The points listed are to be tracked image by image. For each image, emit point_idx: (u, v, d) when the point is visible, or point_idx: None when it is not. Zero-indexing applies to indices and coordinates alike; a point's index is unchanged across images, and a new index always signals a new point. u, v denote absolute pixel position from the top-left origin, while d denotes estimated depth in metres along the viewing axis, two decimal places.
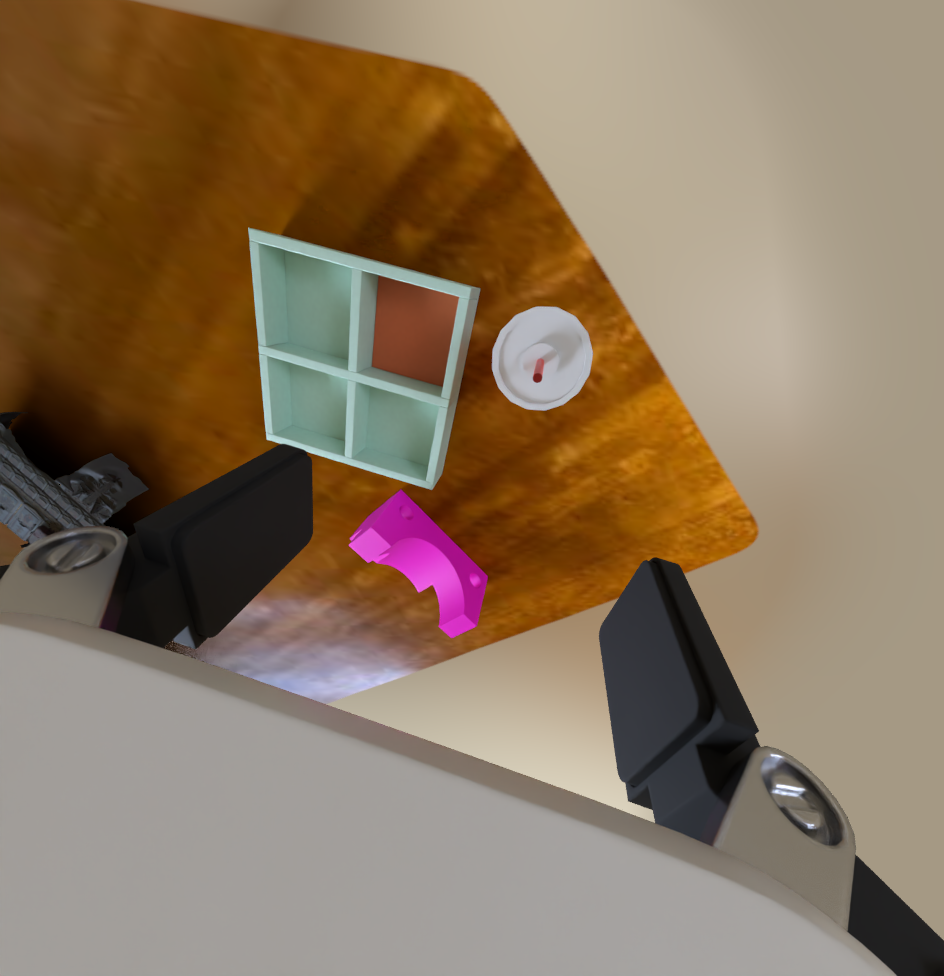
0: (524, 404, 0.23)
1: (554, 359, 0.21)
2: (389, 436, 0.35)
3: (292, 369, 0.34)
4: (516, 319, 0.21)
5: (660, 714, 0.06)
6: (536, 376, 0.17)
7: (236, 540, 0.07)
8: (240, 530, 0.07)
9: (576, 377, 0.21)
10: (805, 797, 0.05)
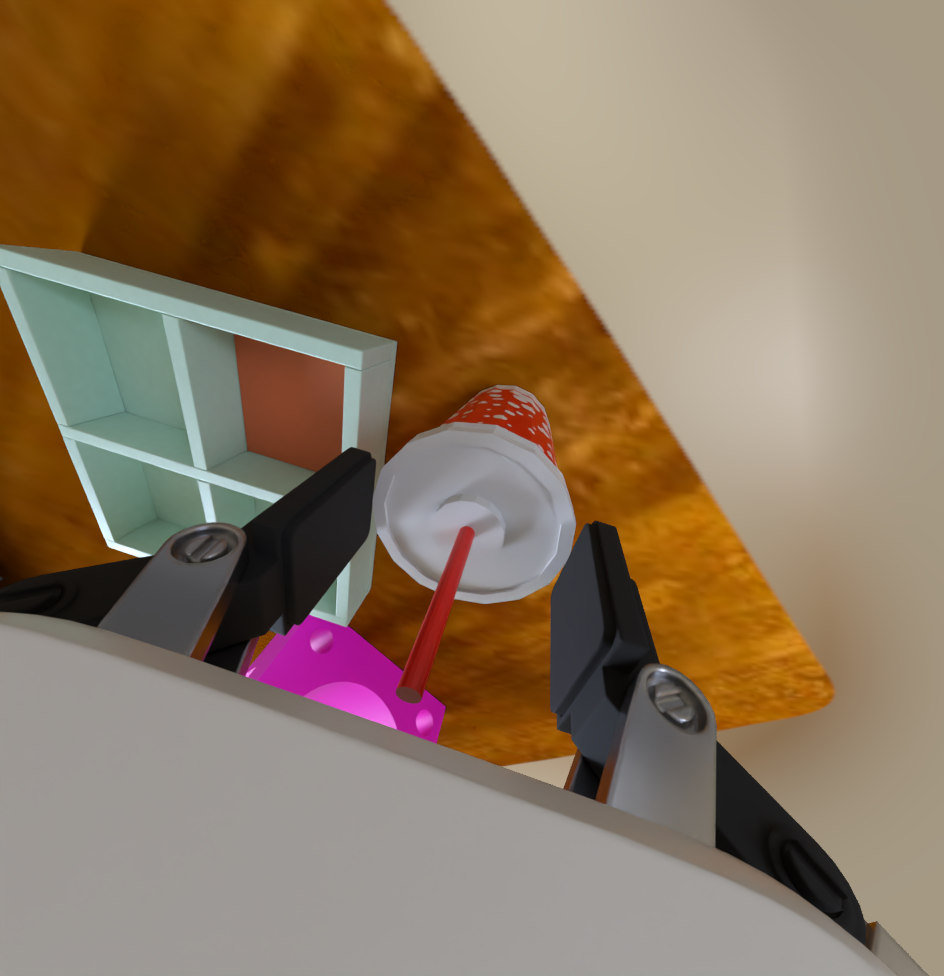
0: None
1: (494, 529, 0.10)
2: None
3: None
4: (410, 451, 0.09)
5: (580, 647, 0.07)
6: (404, 691, 0.06)
7: (323, 536, 0.08)
8: (326, 527, 0.08)
9: (543, 559, 0.10)
10: (680, 696, 0.06)
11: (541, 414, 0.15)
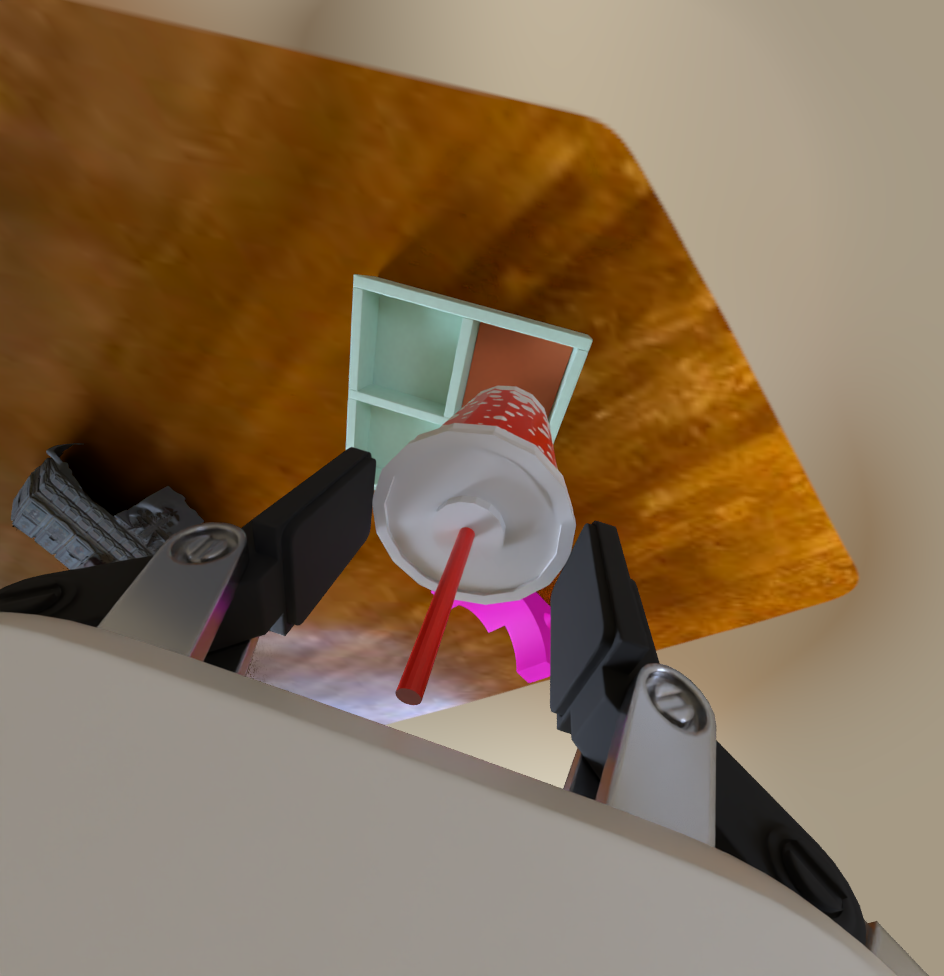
0: None
1: (494, 531, 0.10)
2: None
3: (373, 409, 0.33)
4: (410, 452, 0.09)
5: (580, 647, 0.07)
6: (404, 693, 0.06)
7: (323, 536, 0.08)
8: (326, 527, 0.08)
9: (543, 560, 0.10)
10: (679, 696, 0.06)
11: (541, 415, 0.15)
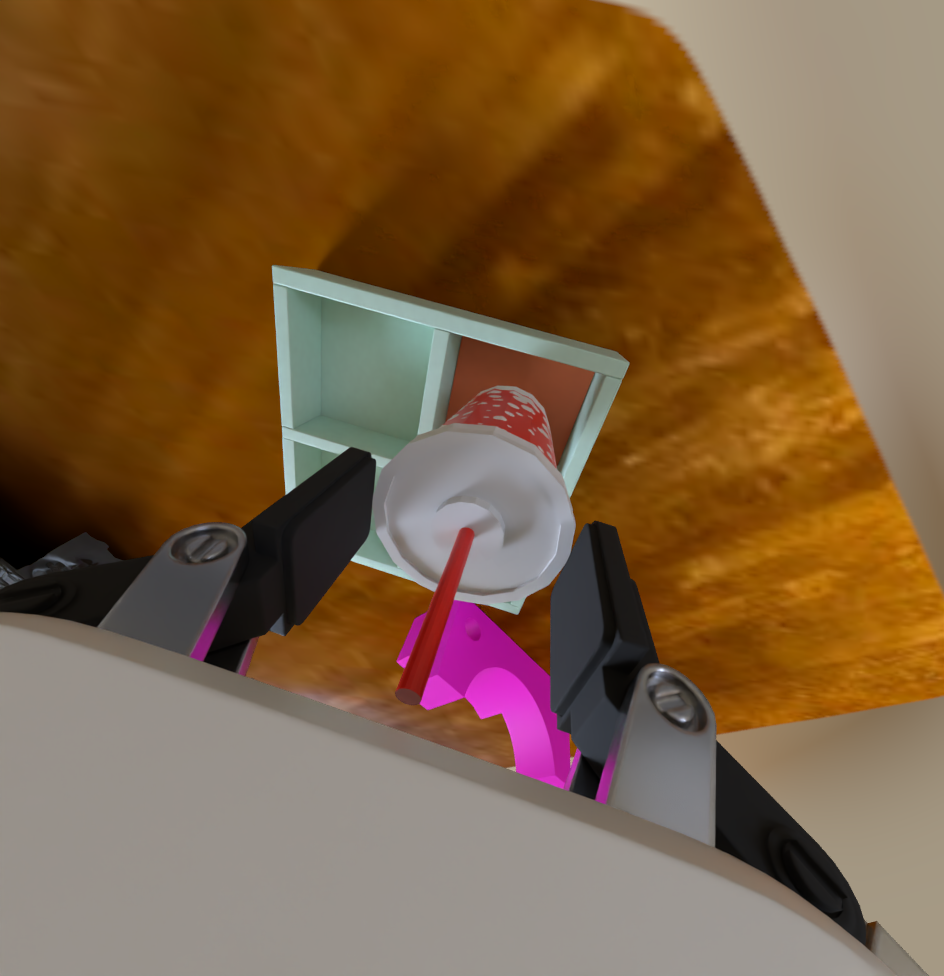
0: None
1: (494, 531, 0.10)
2: None
3: None
4: (409, 452, 0.09)
5: (580, 647, 0.07)
6: (404, 693, 0.06)
7: (323, 536, 0.08)
8: (326, 527, 0.08)
9: (543, 560, 0.10)
10: (679, 696, 0.06)
11: (541, 415, 0.15)
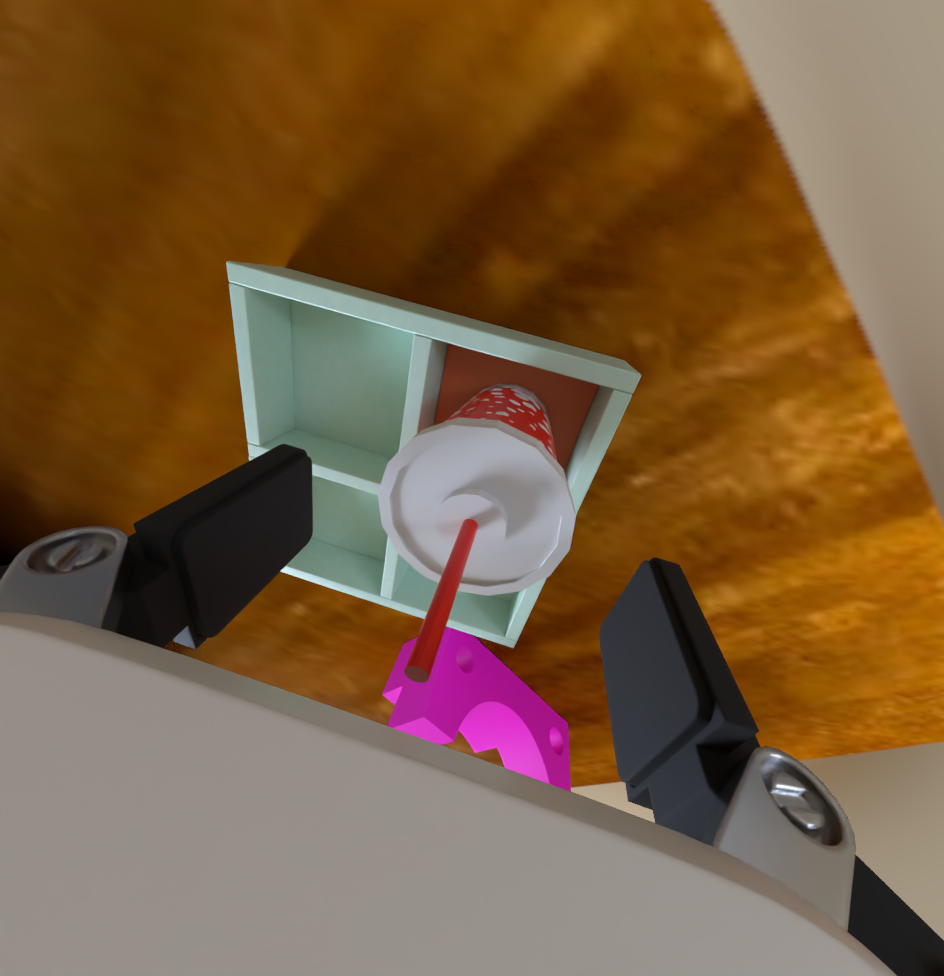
0: None
1: (496, 522, 0.10)
2: None
3: None
4: (415, 445, 0.10)
5: (660, 714, 0.06)
6: (413, 670, 0.06)
7: (236, 540, 0.07)
8: (240, 530, 0.07)
9: (544, 551, 0.11)
10: (805, 797, 0.05)
11: (542, 412, 0.15)
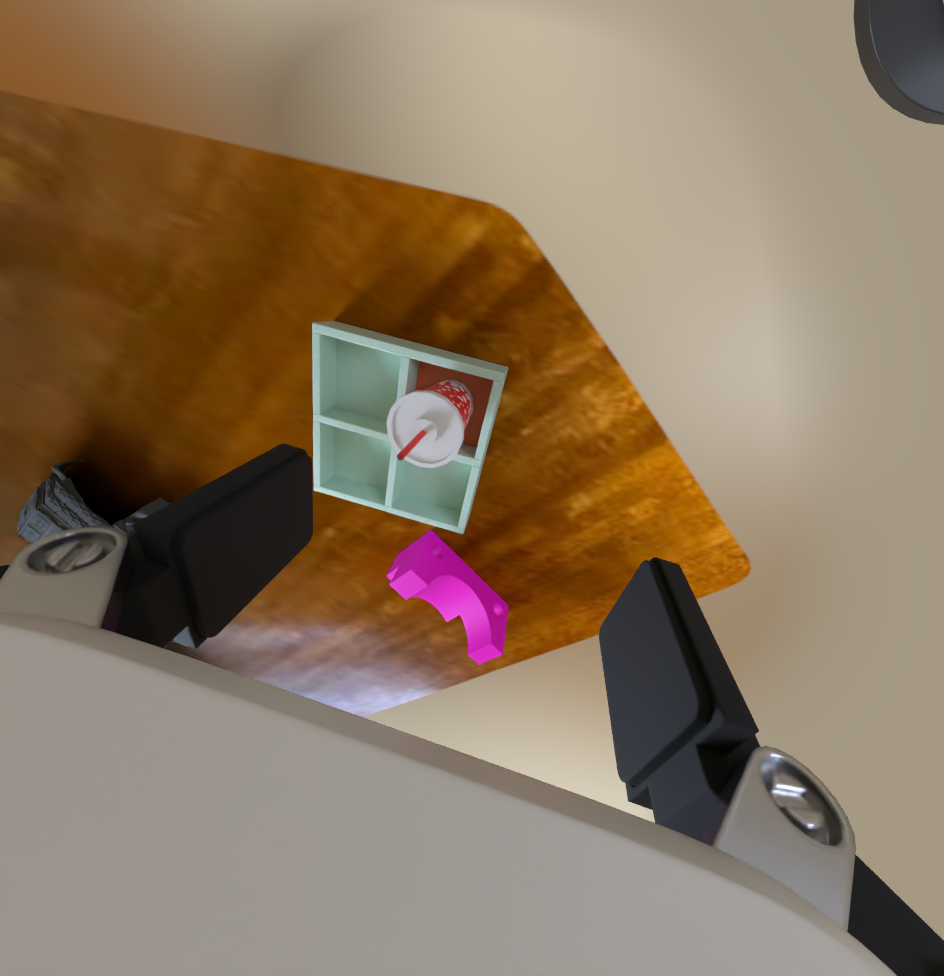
0: (417, 463, 0.28)
1: (432, 430, 0.26)
2: (423, 485, 0.40)
3: (337, 429, 0.38)
4: (400, 400, 0.26)
5: (660, 714, 0.06)
6: (399, 455, 0.22)
7: (236, 540, 0.07)
8: (240, 530, 0.07)
9: (453, 443, 0.27)
10: (805, 797, 0.05)
11: (464, 392, 0.32)
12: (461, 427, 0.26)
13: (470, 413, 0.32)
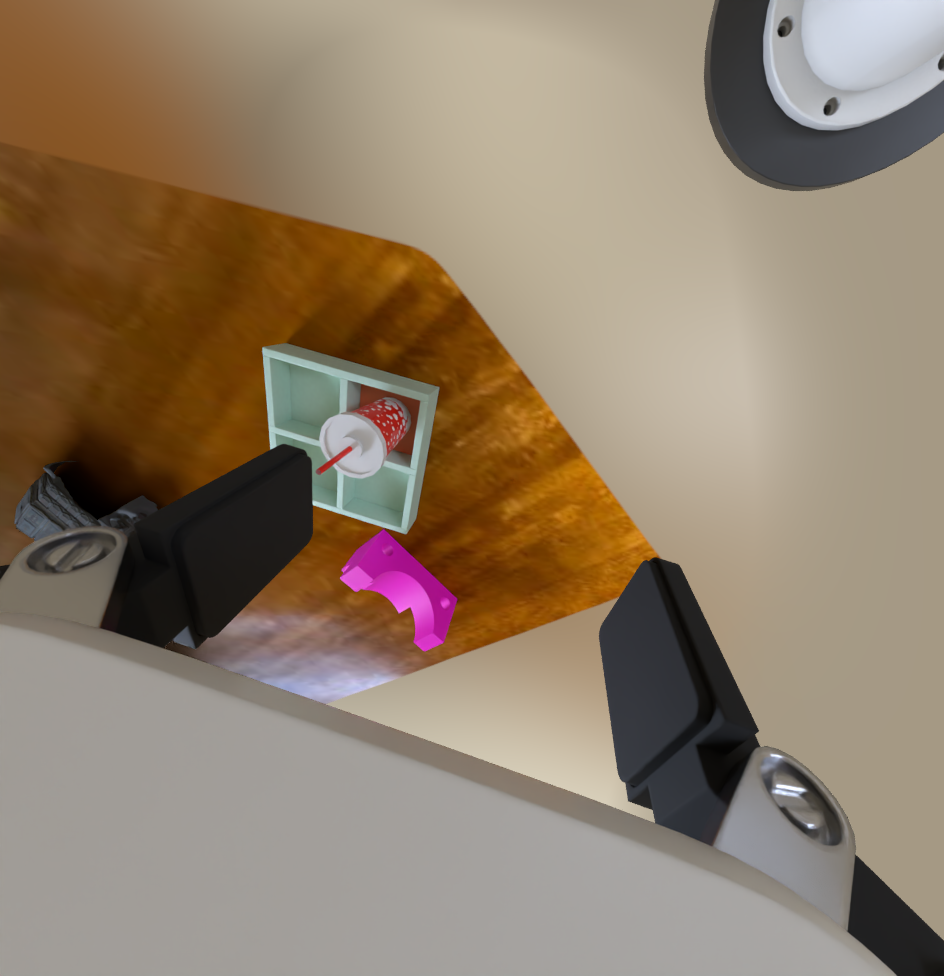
0: (348, 474, 0.32)
1: (357, 447, 0.30)
2: (373, 489, 0.44)
3: None
4: (329, 421, 0.30)
5: (660, 714, 0.06)
6: (317, 471, 0.26)
7: (236, 540, 0.07)
8: (240, 530, 0.07)
9: (376, 458, 0.31)
10: (805, 797, 0.05)
11: (398, 410, 0.36)
12: (381, 444, 0.30)
13: (403, 428, 0.36)
